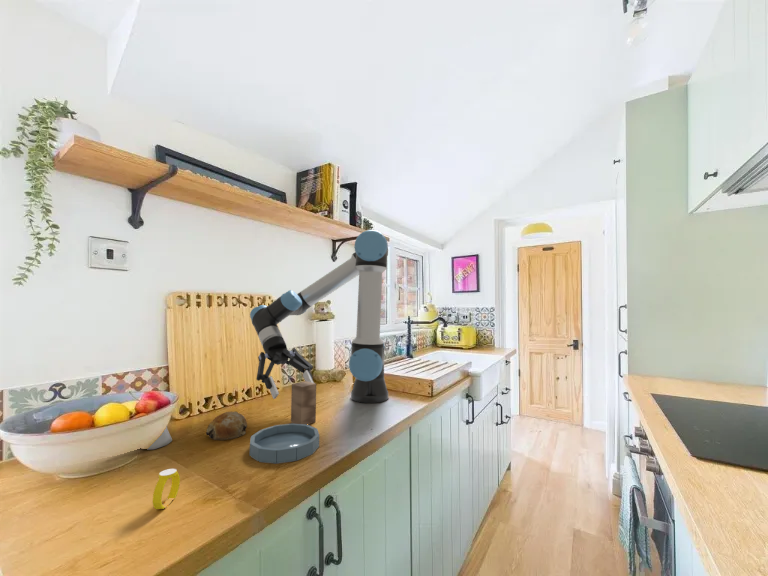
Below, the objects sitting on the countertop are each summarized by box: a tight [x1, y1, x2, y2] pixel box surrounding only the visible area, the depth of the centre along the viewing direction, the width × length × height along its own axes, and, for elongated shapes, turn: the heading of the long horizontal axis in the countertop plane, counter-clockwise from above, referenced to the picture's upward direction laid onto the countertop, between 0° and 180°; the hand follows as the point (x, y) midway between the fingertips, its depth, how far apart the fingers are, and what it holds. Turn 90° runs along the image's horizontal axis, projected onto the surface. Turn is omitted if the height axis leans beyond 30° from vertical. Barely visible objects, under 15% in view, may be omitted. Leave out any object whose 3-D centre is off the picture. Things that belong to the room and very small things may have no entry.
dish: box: [249, 422, 320, 464], centre depth 84 cm, size 17×17×3 cm
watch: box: [152, 468, 181, 510], centre depth 60 cm, size 6×3×6 cm, turn 4°
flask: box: [147, 426, 173, 450], centre depth 85 cm, size 7×7×10 cm
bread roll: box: [205, 411, 248, 441], centre depth 92 cm, size 10×10×8 cm
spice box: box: [290, 380, 317, 425], centre depth 103 cm, size 6×6×12 cm
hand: (295, 392), depth 104 cm, fingers open, 13 cm apart
